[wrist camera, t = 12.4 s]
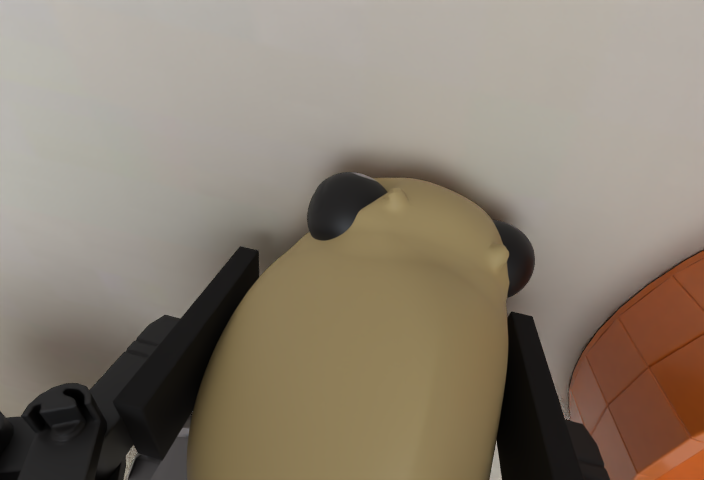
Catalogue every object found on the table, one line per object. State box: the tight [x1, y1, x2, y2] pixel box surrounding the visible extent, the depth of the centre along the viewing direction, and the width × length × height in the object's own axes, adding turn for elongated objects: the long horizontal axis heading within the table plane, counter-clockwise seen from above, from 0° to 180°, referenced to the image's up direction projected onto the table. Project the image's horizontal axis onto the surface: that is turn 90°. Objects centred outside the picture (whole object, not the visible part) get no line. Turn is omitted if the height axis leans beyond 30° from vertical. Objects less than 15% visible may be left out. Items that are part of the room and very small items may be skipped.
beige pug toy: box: [187, 172, 535, 480], centre depth 11 cm, size 10×12×11 cm
